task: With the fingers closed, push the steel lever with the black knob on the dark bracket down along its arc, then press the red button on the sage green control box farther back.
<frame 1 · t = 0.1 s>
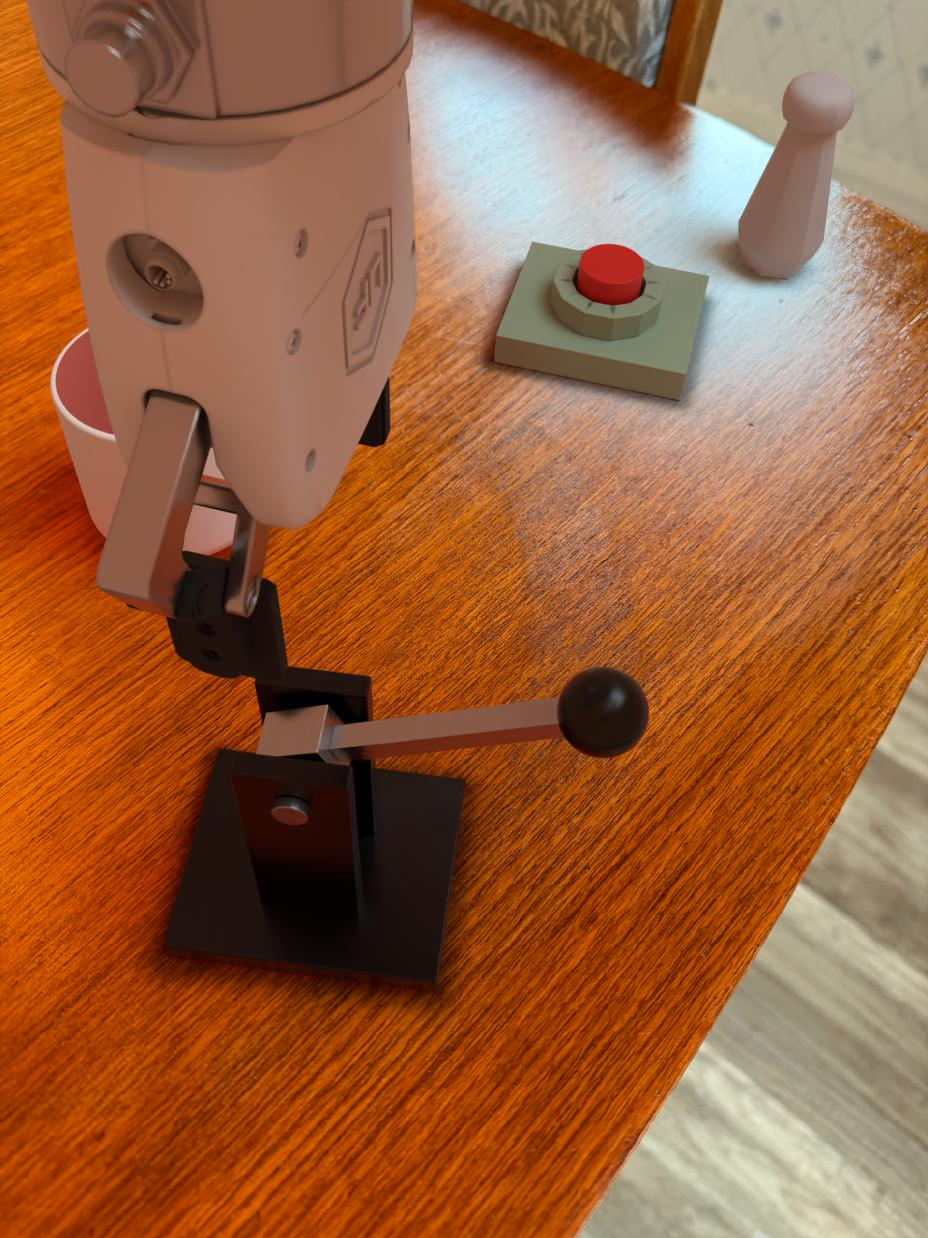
hand: (292, 539, 37), 23 cm above the table, tool pointing down, fingers open, 9 cm apart
bracket: (322, 869, 55), on the table
lever: (449, 730, 44), point 14 cm above the table, hinge at 25.0°
cup: (182, 507, 68), on the table
button box: (601, 331, 79), on the table
button: (610, 274, 75), point 4 cm above the table, slide at 0.1 cm
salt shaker: (771, 262, 84), on the table
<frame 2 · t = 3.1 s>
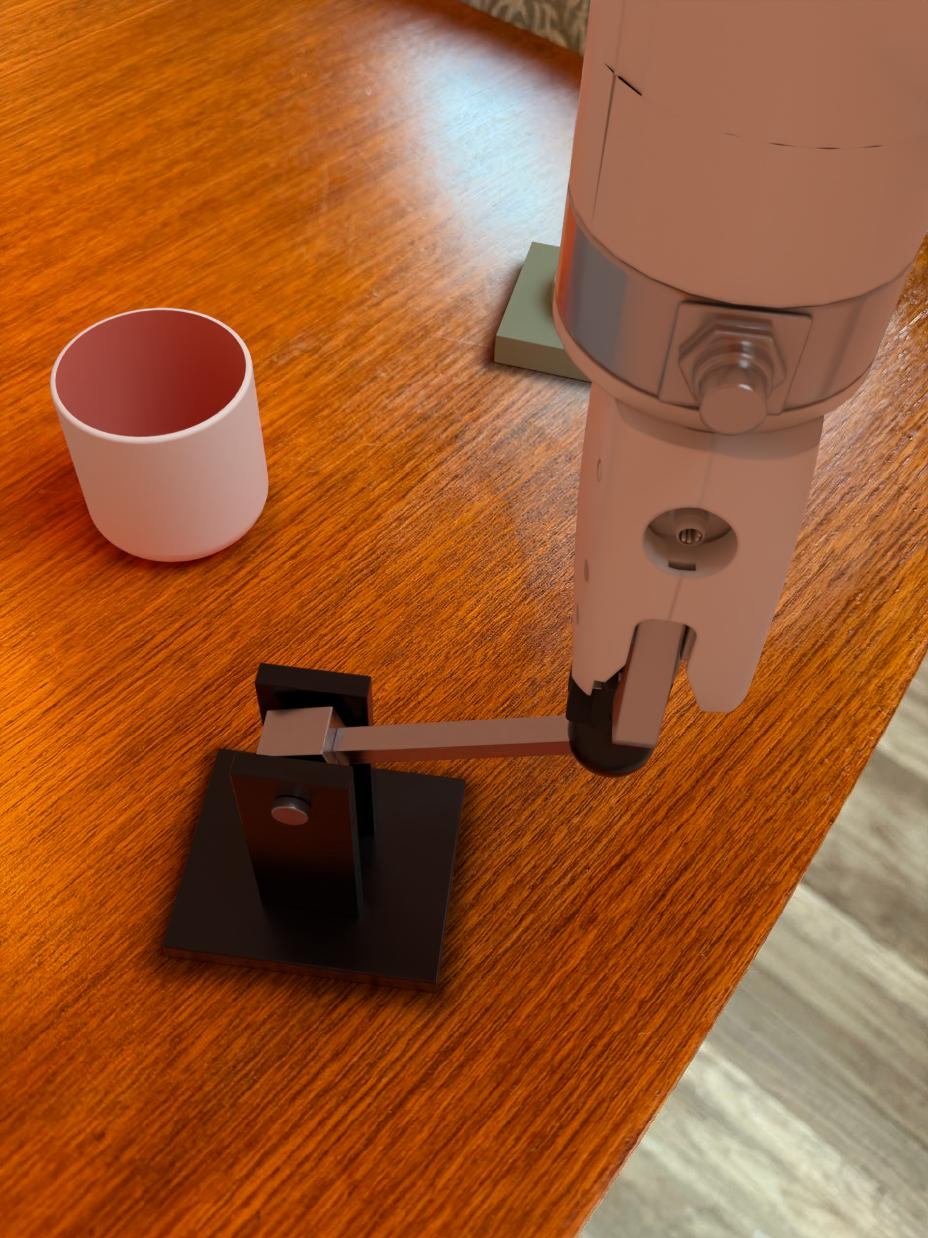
hand: (611, 707, 42), 16 cm above the table, tool pointing down, fingers closed
lever: (455, 740, 45), point 13 cm above the table, hinge at 18.5°
everything else where it was.
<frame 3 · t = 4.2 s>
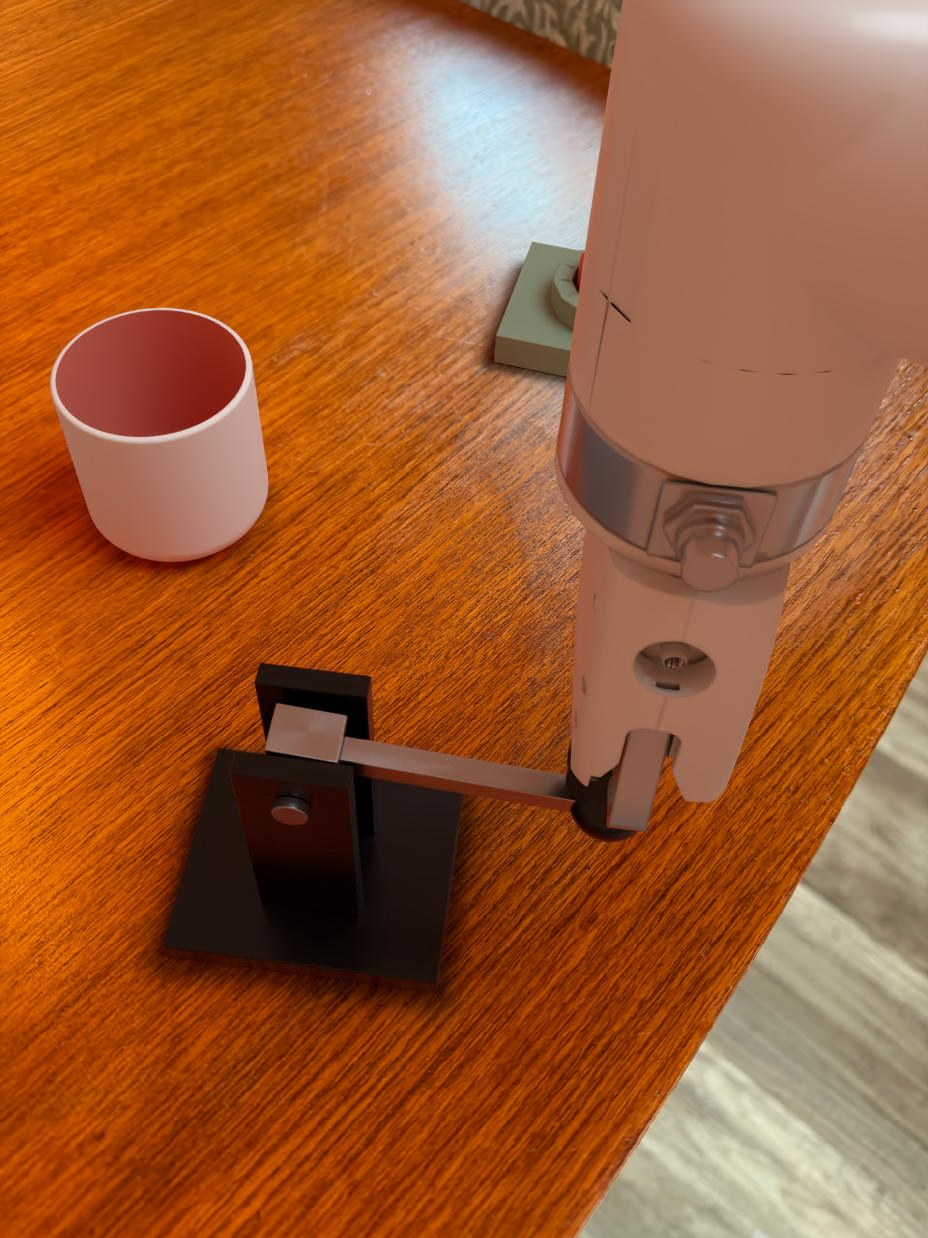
hand: (607, 779, 45), 11 cm above the table, tool pointing down, fingers closed
lever: (460, 775, 47), point 10 cm above the table, hinge at -5.5°, touching gripper
everything else where it was.
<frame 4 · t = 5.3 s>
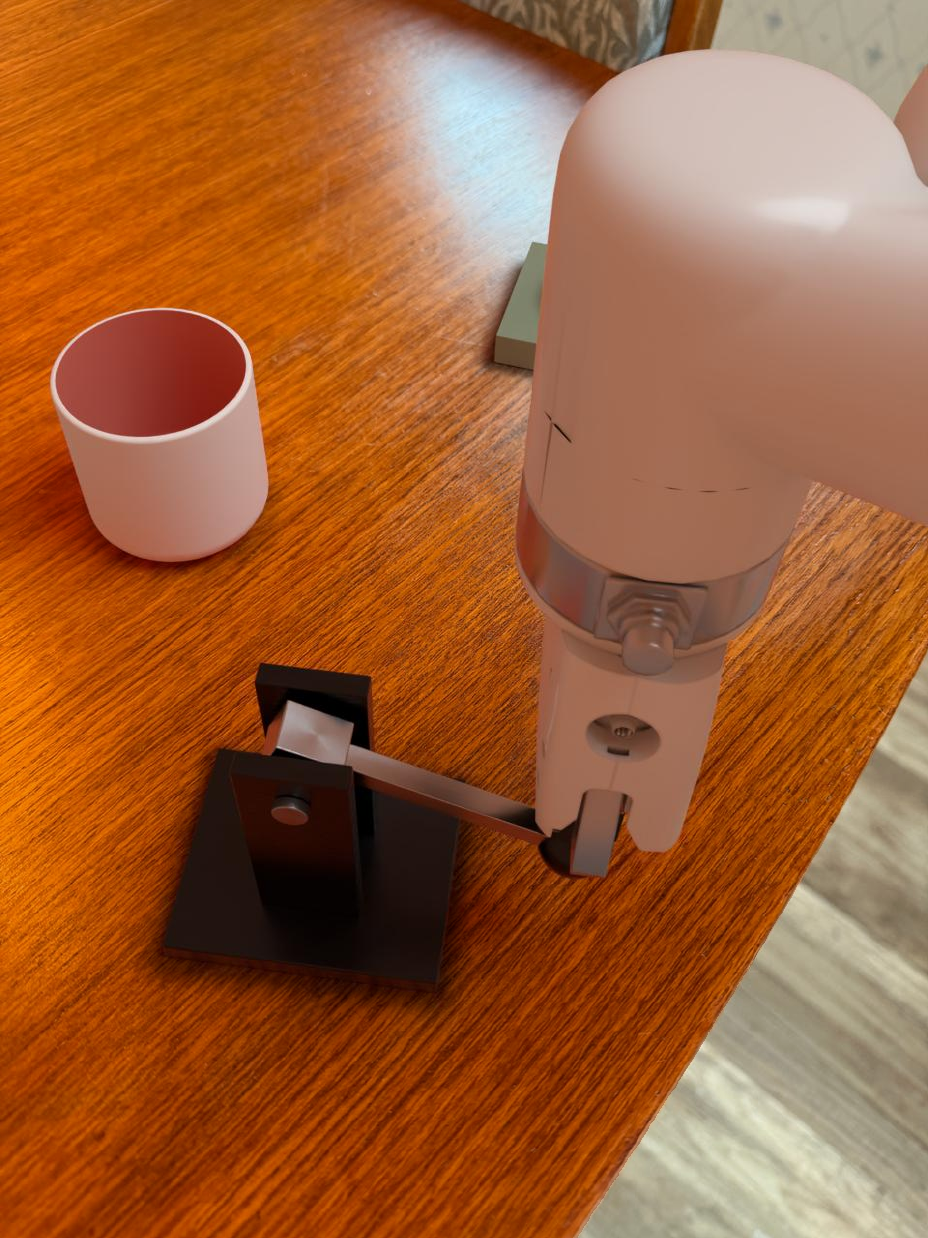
hand: (576, 821, 48), 8 cm above the table, tool pointing down, fingers closed
lever: (447, 796, 48), point 9 cm above the table, hinge at -23.6°, touching gripper
everything else where it was.
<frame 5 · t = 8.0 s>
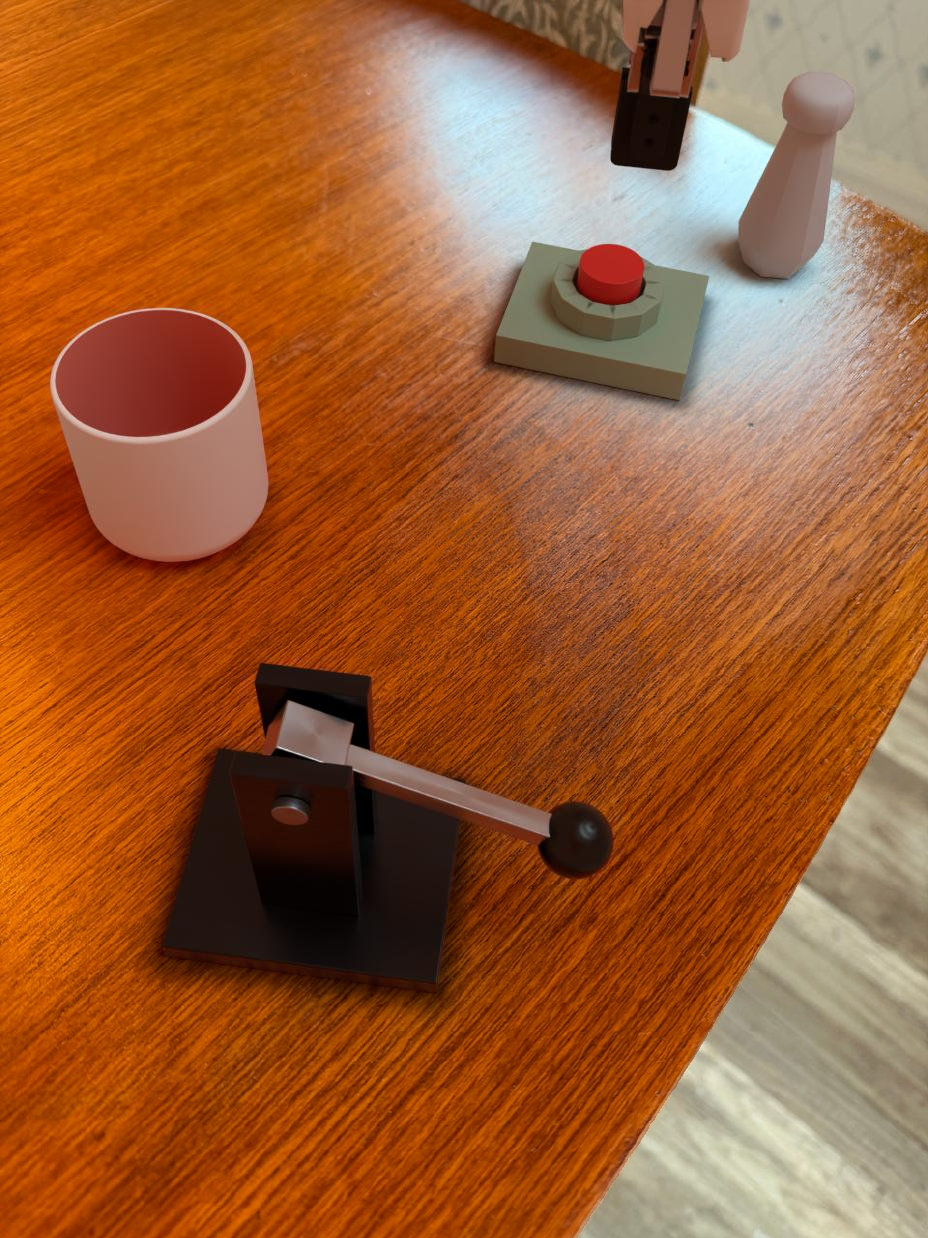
hand: (643, 157, 58), 19 cm above the table, tool pointing down, fingers closed
lever: (447, 796, 48), point 9 cm above the table, hinge at -23.7°
everything else where it was.
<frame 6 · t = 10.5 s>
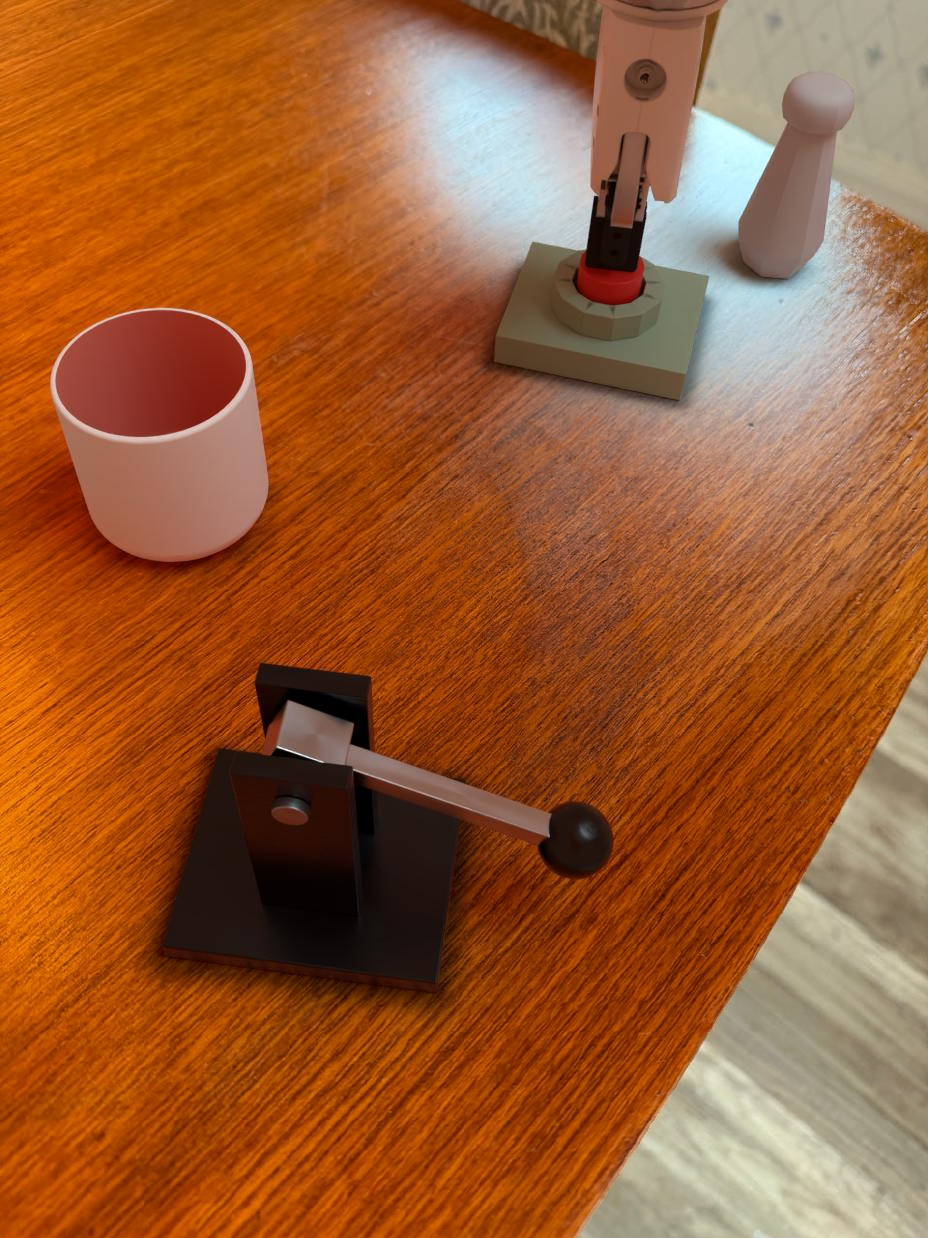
hand: (610, 261, 74), 5 cm above the table, tool pointing down, fingers closed
button: (610, 274, 75), point 4 cm above the table, slide at 0.1 cm, touching gripper
everything else where it was.
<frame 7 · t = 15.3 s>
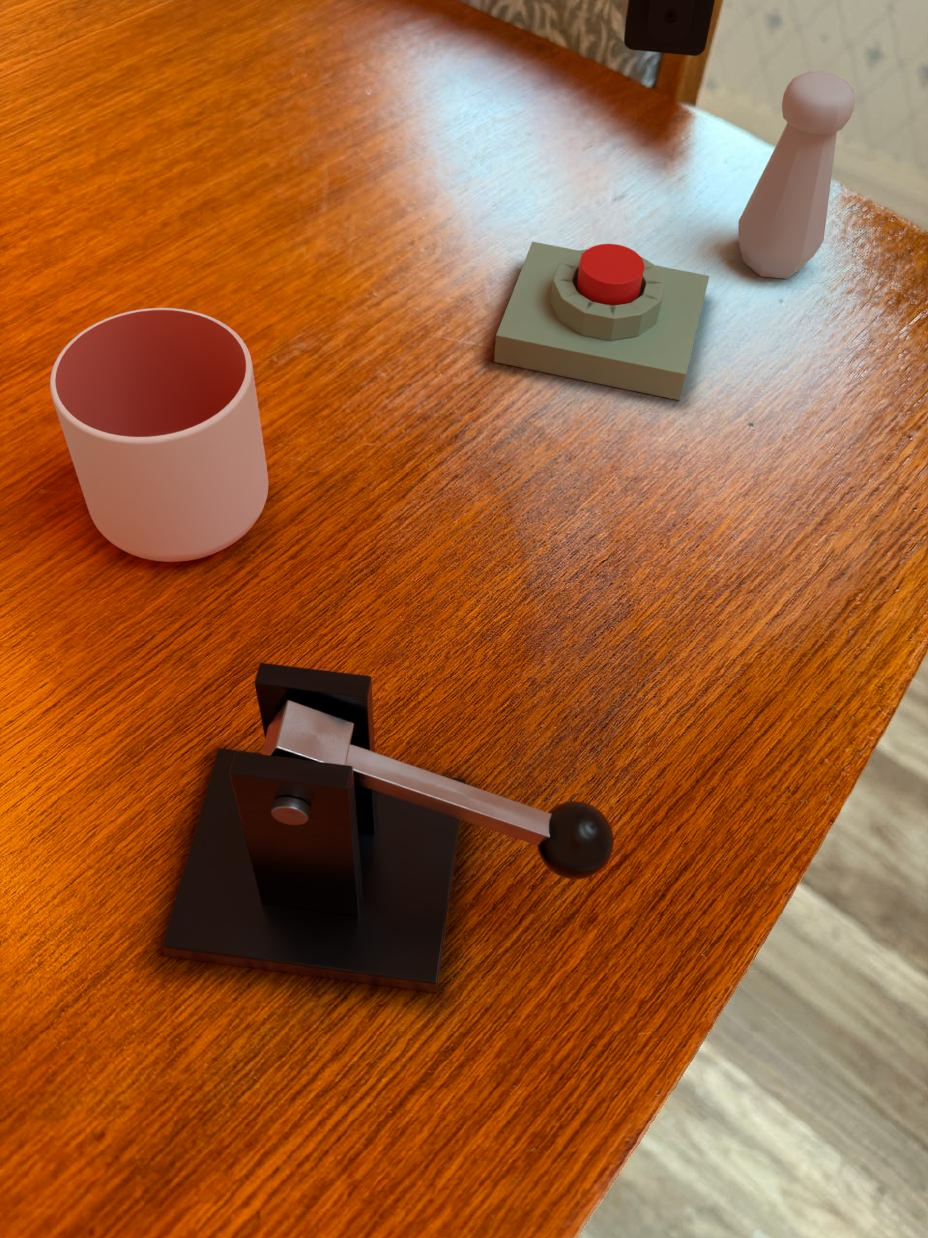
hand: (663, 41, 48), 27 cm above the table, tool pointing down, fingers closed
button: (610, 274, 75), point 4 cm above the table, slide at 0.1 cm
everything else where it was.
at the end: lever at -24° (first picture: +25°); button pushed in 1.0 cm at the most during the clip, back to where it started at the end; button slide at 0.1 cm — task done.
